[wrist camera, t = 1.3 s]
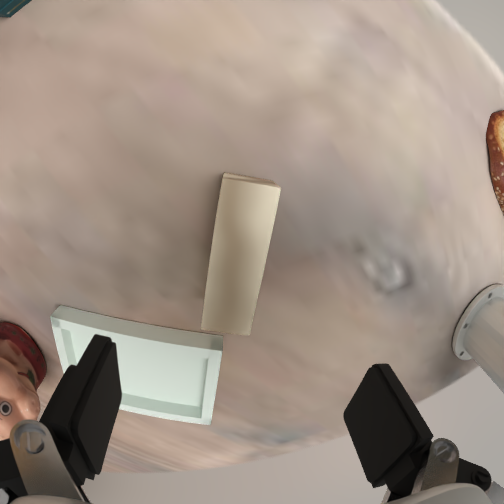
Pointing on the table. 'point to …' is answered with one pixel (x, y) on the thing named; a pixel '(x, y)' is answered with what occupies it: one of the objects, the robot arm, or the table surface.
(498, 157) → the tan flat crusted slab
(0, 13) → the donation box
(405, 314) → the table surface
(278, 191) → the birch block
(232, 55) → the table surface
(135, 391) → the tray
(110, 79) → the table surface
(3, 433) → the decorative planter
